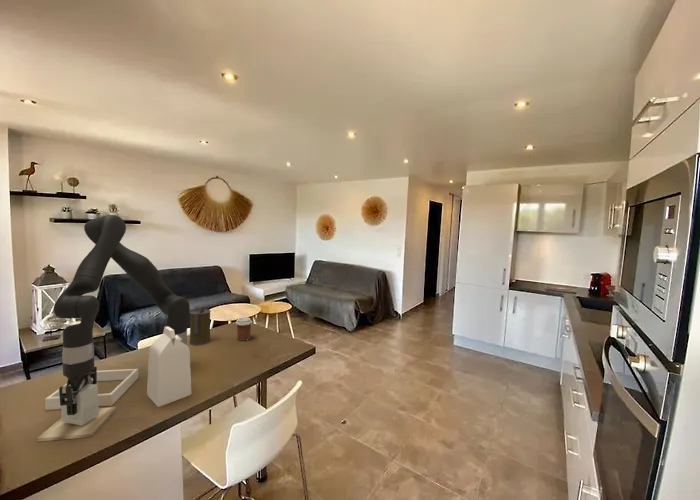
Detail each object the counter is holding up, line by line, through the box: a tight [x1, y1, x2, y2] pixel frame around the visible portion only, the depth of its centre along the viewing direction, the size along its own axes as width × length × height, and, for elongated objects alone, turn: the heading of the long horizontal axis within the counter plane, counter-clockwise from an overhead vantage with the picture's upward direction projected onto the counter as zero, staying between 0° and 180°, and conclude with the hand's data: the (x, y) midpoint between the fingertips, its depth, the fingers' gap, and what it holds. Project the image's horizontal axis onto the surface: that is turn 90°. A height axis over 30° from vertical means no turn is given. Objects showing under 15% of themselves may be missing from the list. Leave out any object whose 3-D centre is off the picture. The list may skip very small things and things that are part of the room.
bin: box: [44, 368, 139, 411], centre depth 116 cm, size 20×20×4 cm
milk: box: [146, 326, 192, 408], centre depth 116 cm, size 12×12×26 cm
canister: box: [189, 305, 211, 346], centre depth 168 cm, size 11×10×20 cm
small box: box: [60, 384, 100, 425], centre depth 97 cm, size 8×6×10 cm
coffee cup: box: [235, 316, 253, 341], centre depth 175 cm, size 9×9×12 cm
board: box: [36, 406, 118, 443], centre depth 98 cm, size 14×14×1 cm
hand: (80, 407), depth 97 cm, fingers closed on small box, 7 cm apart
